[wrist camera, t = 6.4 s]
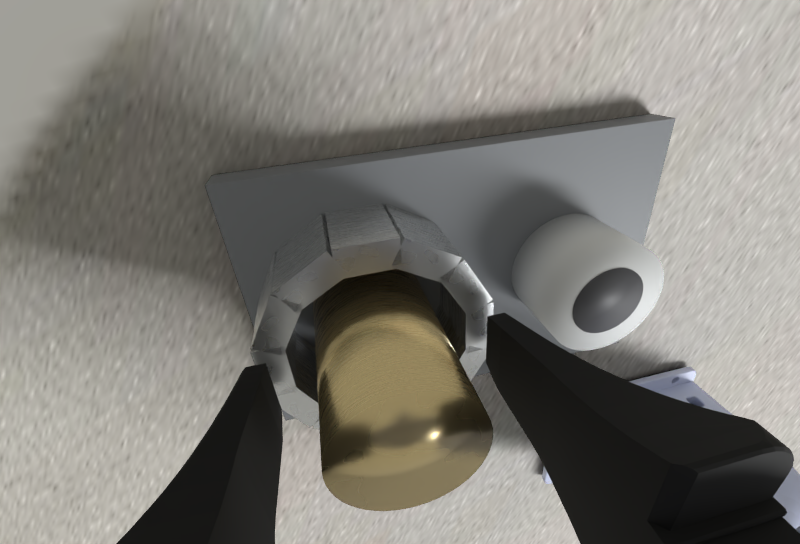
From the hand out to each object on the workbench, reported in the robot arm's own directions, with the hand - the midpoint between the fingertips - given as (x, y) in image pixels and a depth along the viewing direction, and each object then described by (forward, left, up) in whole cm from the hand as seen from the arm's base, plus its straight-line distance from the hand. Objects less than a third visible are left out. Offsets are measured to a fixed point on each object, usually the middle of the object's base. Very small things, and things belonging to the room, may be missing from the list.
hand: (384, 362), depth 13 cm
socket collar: (0, 0, -4) cm, 4 cm away
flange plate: (-4, 0, -5) cm, 6 cm away
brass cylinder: (0, 0, -4) cm, 4 cm away
